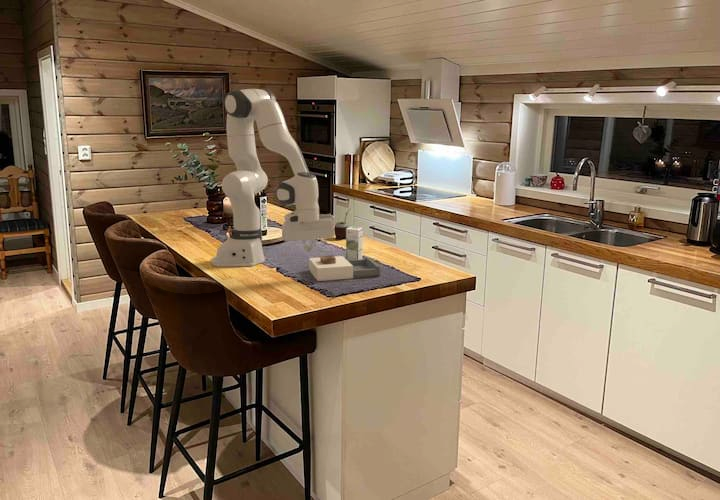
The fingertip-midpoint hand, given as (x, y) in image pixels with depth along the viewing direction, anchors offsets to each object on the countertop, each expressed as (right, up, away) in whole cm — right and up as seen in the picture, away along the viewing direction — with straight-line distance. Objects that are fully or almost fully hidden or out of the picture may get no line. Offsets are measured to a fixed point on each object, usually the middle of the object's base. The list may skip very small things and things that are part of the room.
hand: (309, 250), depth 234 cm
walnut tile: (+7, -5, +4) cm, 9 cm away
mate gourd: (+11, +6, +68) cm, 69 cm away
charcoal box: (+20, -9, +9) cm, 24 cm away
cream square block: (+8, -9, +5) cm, 13 cm away
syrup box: (+17, -5, +26) cm, 32 cm away
